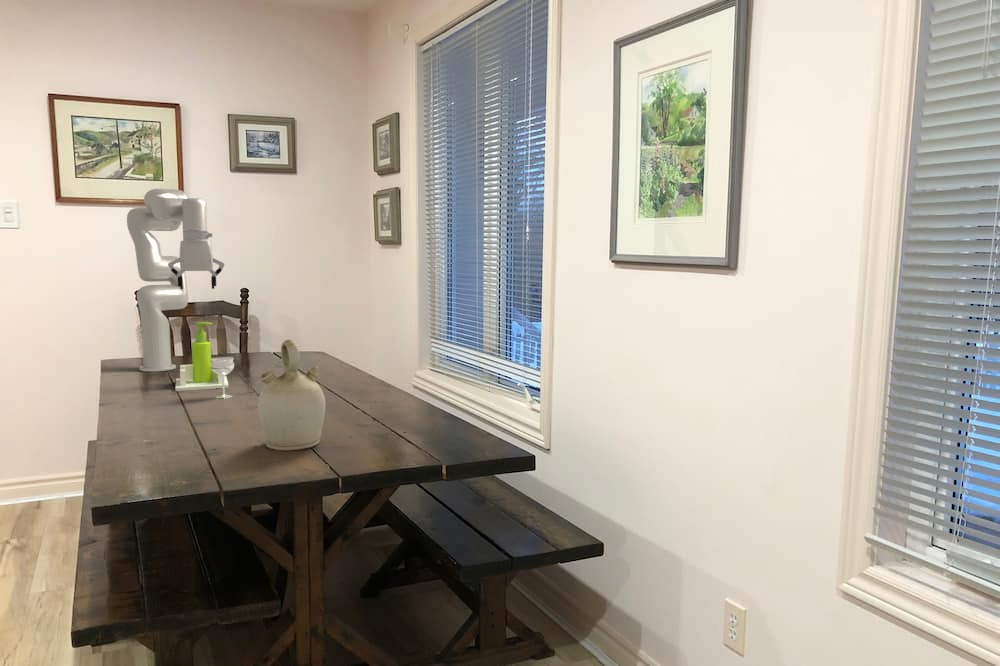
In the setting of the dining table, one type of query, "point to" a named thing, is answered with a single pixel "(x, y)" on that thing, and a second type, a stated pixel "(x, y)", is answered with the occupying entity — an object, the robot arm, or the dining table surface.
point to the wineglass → (222, 369)
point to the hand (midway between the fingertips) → (197, 288)
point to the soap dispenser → (201, 356)
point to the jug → (291, 404)
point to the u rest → (188, 384)
